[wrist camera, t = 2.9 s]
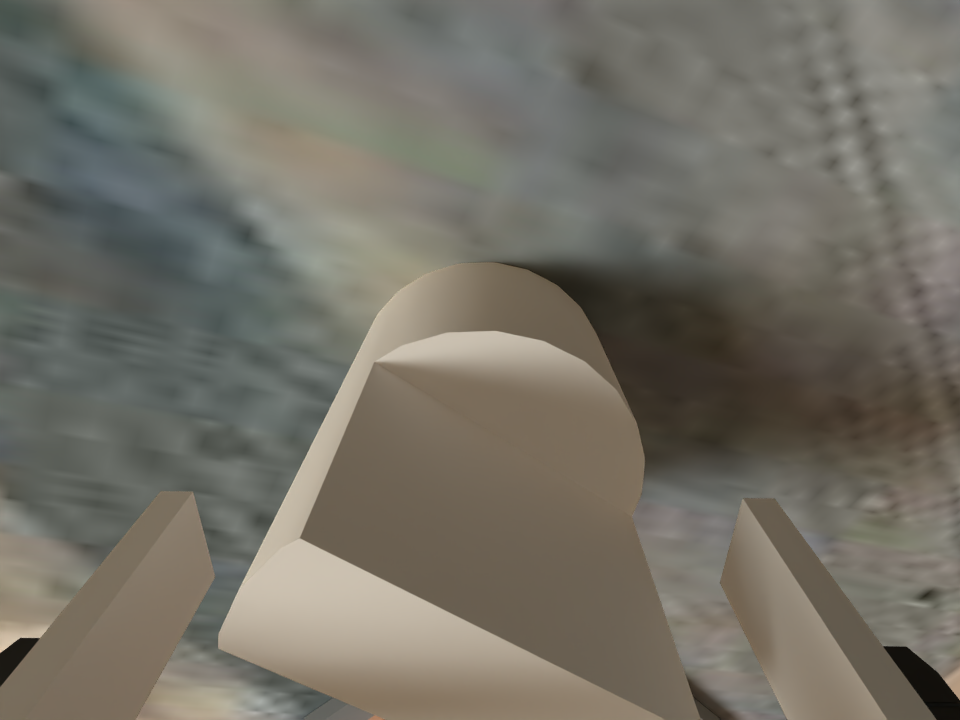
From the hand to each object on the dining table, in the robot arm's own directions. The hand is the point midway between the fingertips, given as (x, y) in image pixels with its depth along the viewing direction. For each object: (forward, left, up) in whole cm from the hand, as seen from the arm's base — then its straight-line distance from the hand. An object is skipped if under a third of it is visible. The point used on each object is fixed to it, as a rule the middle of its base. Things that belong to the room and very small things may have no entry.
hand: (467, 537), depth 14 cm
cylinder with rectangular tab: (0, 0, -8) cm, 8 cm away
